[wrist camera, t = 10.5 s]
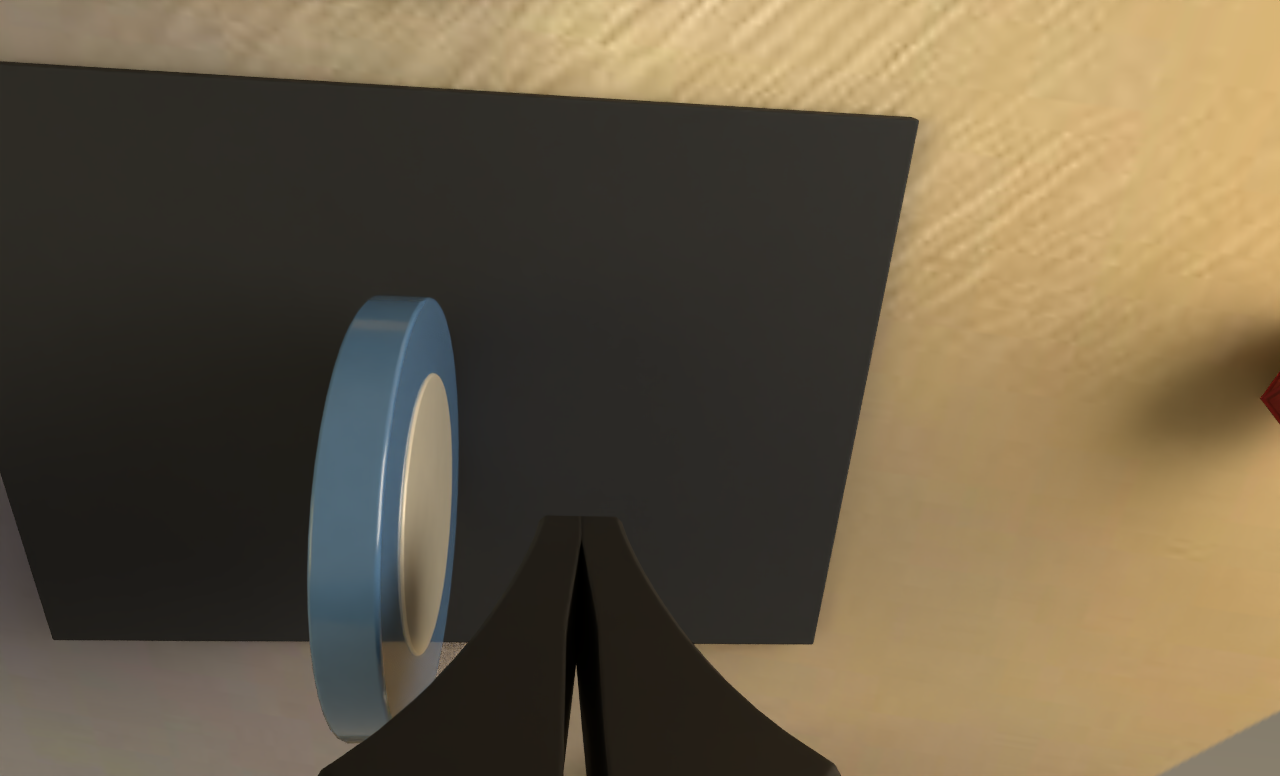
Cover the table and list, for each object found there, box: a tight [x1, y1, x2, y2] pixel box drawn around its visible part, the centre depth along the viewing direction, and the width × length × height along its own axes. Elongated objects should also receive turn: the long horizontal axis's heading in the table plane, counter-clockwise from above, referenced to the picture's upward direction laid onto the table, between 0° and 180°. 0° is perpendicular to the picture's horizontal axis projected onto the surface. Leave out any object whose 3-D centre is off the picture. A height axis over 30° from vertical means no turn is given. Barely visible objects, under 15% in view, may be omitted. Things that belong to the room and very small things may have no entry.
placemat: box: [0, 62, 919, 644], centre depth 19 cm, size 20×14×1 cm
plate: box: [307, 295, 459, 743], centre depth 15 cm, size 1×8×8 cm, turn 176°
